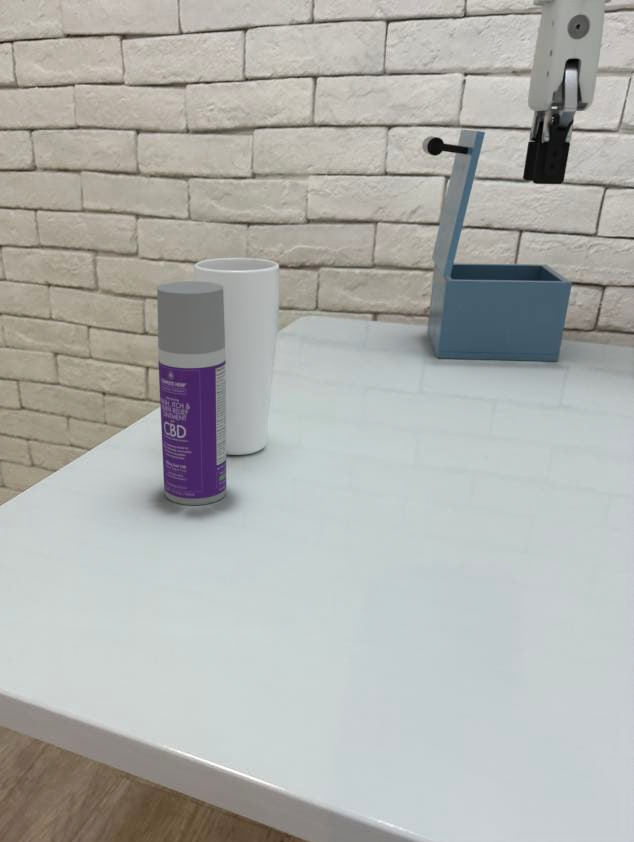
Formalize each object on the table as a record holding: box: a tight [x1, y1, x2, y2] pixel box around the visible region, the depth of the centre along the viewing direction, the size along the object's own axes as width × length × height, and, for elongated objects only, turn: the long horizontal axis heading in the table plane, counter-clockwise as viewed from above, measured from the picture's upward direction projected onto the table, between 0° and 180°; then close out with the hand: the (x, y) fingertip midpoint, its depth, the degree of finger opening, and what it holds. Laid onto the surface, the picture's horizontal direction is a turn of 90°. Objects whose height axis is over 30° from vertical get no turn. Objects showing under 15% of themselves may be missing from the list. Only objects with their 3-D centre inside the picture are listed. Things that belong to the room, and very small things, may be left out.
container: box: [156, 280, 227, 506], centre depth 58 cm, size 5×5×15 cm
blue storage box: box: [426, 262, 573, 362], centre depth 98 cm, size 14×13×9 cm
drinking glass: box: [193, 257, 281, 456], centre depth 67 cm, size 7×7×15 cm
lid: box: [421, 129, 486, 277], centre depth 94 cm, size 15×13×5 cm
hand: (542, 180), depth 91 cm, fingers open, 4 cm apart
